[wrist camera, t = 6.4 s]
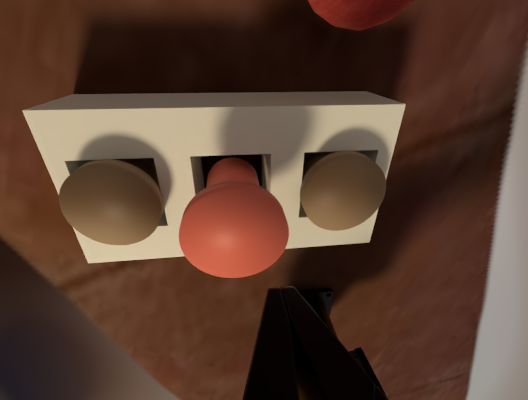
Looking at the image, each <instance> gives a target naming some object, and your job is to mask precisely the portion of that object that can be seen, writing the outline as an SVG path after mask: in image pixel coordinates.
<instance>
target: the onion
mask: <svg viewBox="0 0 528 400" xmlns="http://www.w3.org/2000/svg"><path fill="white" fill-rule="evenodd" d="M412 1H414V0H308V2H309V4H310V5H311V7H312V9H313V11H314V12H315V13H317V14H318V15H319V16H320V17H322V18H323V19H324V20H326V21H327V22H328V23H330V24H331V25H333V26H335V27H339V28H345V29H351V30H357V31H361V30H364V29H367V28H370V27H373V26H377V25H380V24H383V23H385V22H387V21H389V20H391V19H393V18H394V17H395V16H396V15H397V14H399V13H400V12H401V11H402V10H403V9H404V8H406V7H407V6H408V5H409V4H410V3H411V2H412Z"/></svg>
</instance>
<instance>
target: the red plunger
mask: <svg viewBox="0 0 528 400" xmlns="http://www.w3.org/2000/svg"><path fill="white" fill-rule="evenodd" d="M288 238H289V227H288V223H287V220H286V217H285V214H284V211H283V208H282V206H281V204H280V203H279V201H278V200H277V199H276V197H275V196H274V195H273V194H271V193H270V192H269V191H267V190H266V189H264V188H262V187H261V186H260V185H259V181H258V177H257V173H256V171H255V169H254V168H253V166H252V165H251V164H250V163H248V162H247V161H245V160H243V159H239V158H226V159H223V160H220V161H218V162H217V163H216V164H214V165H213V167H212V168H211V169H210V171H209V173H208V178H207V184H206V188H205V189H203V190H202V191H200V192H199V193H198V194H197V195H195V196H194V197H193V198H192V200H191V201H190V202H189V203H188V205H187V207H186V208H185V211H184V213H183V217H182V220H181V224H180V228H179V243H180V247H181V249H182V252H183V254H184V255H185V257H186V258H187V259H188V260H189V261H190V263H192V264H193V265H194V266H195V267H197V268H198V269H200V270H201V271H203V272H205V273H208V274H211V275H214V276H218V277H224V278H239V277H246V276H250V275H253V274H256V273H259V272H261V271H263V270H265V269H266V268H268V267H269V266H271V265H272V264H273V263H274V262H275V261H277V260H278V258H279V257H280V256H281V255H282V253H283V252H284V250H285V248H286V246H287V242H288Z"/></svg>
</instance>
